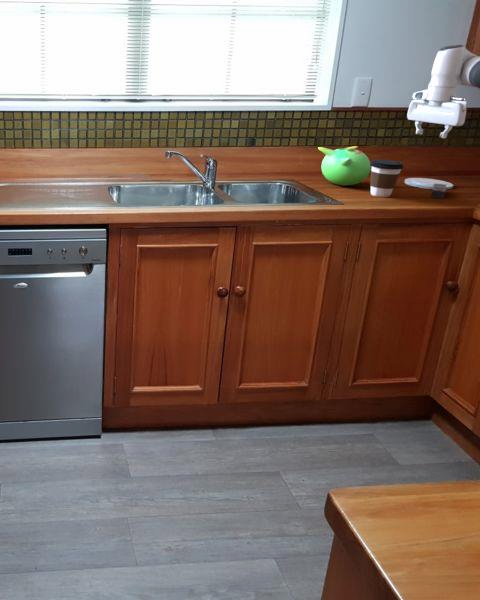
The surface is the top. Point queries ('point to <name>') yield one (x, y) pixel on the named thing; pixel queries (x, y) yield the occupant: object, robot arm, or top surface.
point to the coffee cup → (384, 176)
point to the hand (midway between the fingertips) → (430, 136)
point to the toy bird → (345, 165)
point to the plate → (426, 183)
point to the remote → (438, 191)
